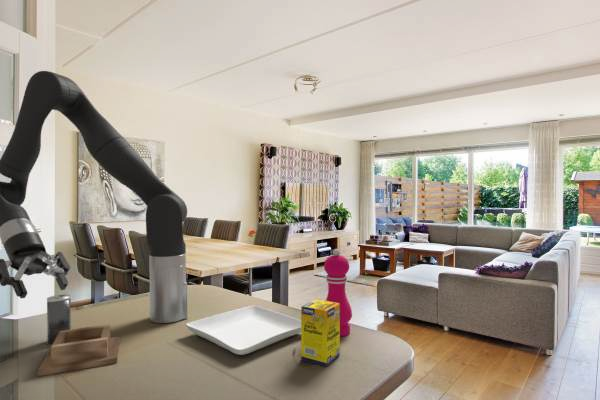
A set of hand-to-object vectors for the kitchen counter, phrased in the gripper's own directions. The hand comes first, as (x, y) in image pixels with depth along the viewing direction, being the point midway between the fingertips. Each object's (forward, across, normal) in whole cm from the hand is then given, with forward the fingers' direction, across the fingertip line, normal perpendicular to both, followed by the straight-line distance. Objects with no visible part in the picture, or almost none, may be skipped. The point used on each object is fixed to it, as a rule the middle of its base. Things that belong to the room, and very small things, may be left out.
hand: (45, 291), depth 88 cm
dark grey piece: (+12, 0, +3) cm, 12 cm away
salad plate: (+37, +24, -21) cm, 49 cm away
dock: (+21, -2, -6) cm, 22 cm away
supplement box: (+51, +22, -36) cm, 66 cm away
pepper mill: (+49, +37, -34) cm, 70 cm away
